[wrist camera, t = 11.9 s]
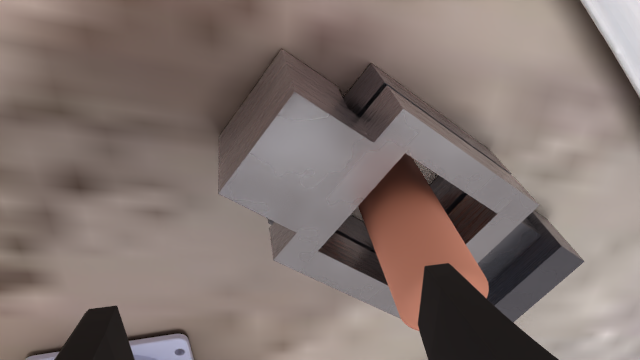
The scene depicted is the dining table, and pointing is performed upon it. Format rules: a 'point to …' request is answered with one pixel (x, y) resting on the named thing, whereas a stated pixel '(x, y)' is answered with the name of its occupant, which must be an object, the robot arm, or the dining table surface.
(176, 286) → the dining table surface
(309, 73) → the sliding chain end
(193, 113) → the dining table surface
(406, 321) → the link pin
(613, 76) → the dining table surface
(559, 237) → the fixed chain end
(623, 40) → the salad plate
